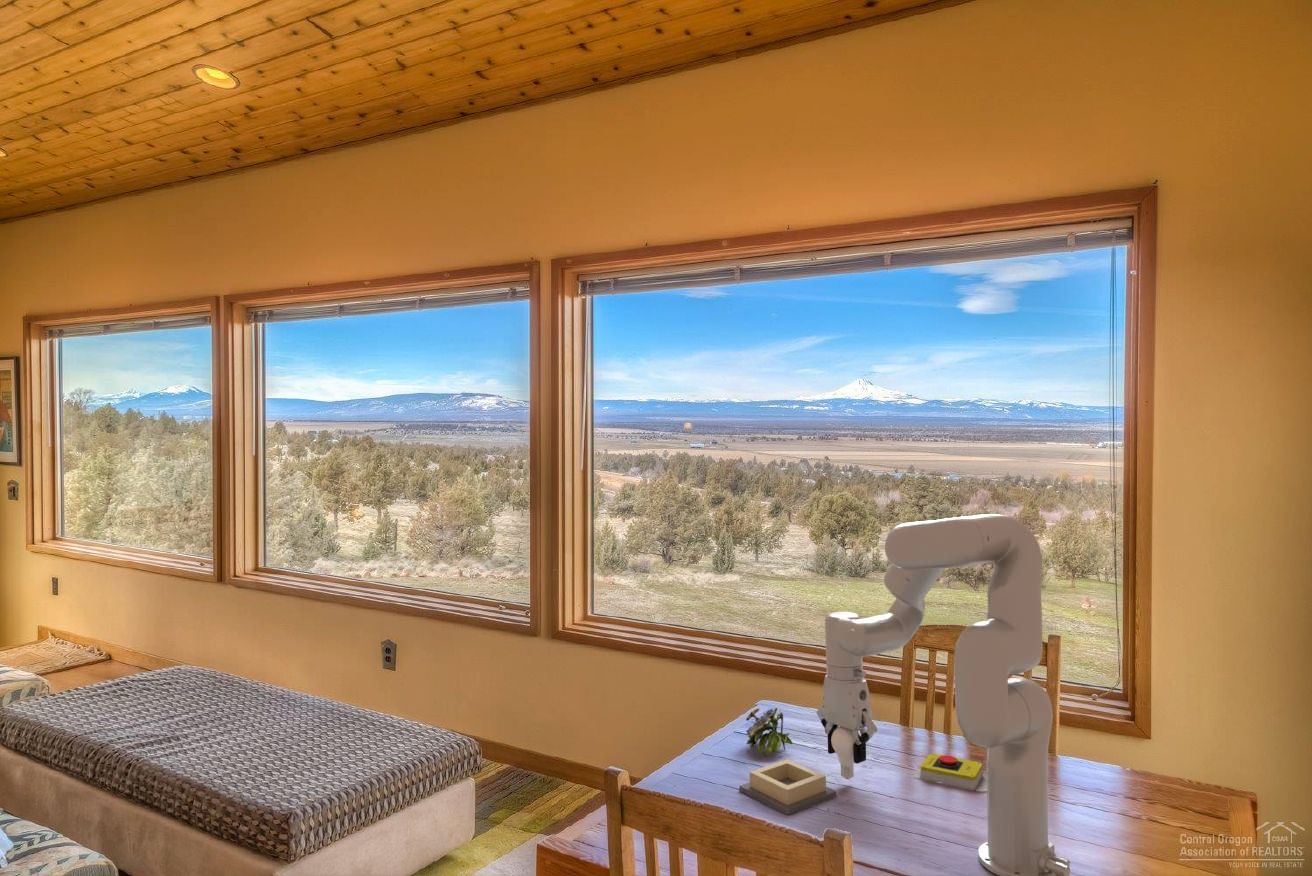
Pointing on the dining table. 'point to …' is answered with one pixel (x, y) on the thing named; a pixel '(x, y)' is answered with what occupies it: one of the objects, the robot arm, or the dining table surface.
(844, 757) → the lightbulb
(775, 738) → the green leafy plant
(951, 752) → the dining table surface
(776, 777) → the socket block
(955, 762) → the emergency button
